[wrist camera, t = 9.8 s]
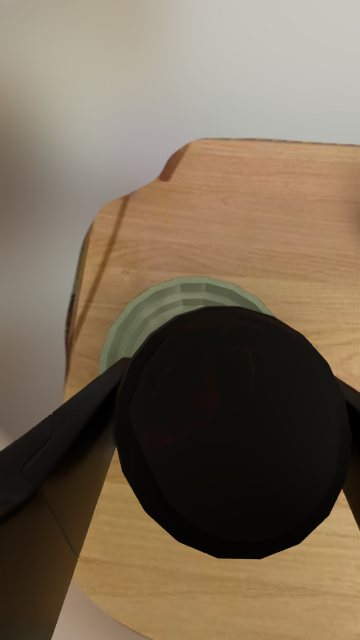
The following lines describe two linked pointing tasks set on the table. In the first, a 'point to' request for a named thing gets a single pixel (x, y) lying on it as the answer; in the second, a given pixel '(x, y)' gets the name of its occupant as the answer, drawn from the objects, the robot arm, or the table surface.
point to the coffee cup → (232, 432)
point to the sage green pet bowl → (168, 311)
